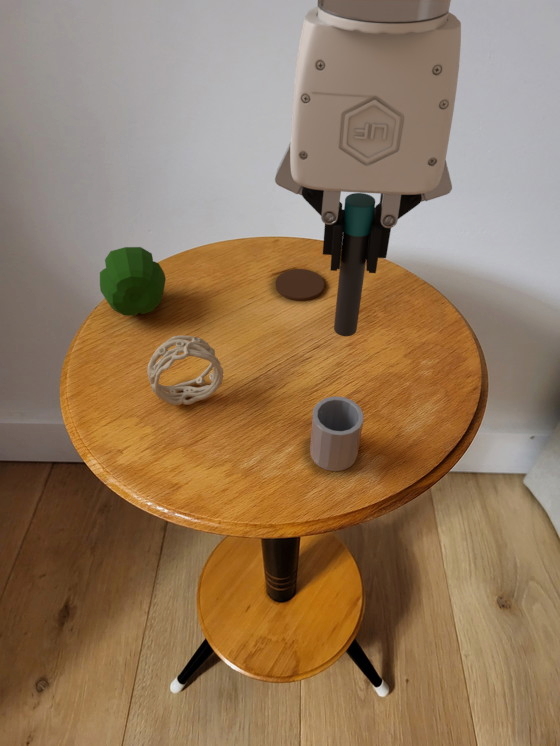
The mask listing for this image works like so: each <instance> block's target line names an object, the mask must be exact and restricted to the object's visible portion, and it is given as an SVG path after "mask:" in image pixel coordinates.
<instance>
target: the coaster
mask: <svg viewBox="0 0 560 746" xmlns="http://www.w3.org/2000/svg"><path fill="white" fill-rule="evenodd" d="M274 285H275V290H276V292H277V293H278V294H279V295H280V296H282V297H284V298H285V299H287V300H291V301H297V302H303V301H304V302H305V301H309V300H313V299H315V298H316V299H317V298H318V297H319V296H320V295H321V294H323V292H324V291H325V279H323V277H322V276H321V275H320V274H319V273H317V272H315V271H313V270H310V269H305V268H293V269H289V270H286V271H283V272H282V273H280V274H279V275H278V276H277V277H276V279H275V283H274Z"/></svg>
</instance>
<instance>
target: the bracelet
mask: <svg viewBox="0 0 560 746" xmlns="http://www.w3.org/2000/svg"><path fill="white" fill-rule="evenodd" d="M174 346H175V347H174ZM172 347H173V348H172ZM180 353H182V354H180ZM189 357H194V358H198V359H201V360H205V361H208V362H210V363H209V365H208V367H207V368H206V369H205V370H204V371H202V373H201V374H199V376H197V377H196V378H193V379H190V380H188V381H184V382H180V383H177V384H175V385H164V384H161V383H160V382H159V381H160V377H161V375H162V373H163V372H164V371H165V370H167V371H168V370H169V369H170V368H171V367H172V365H173V364H174V363H175V362H176V361H181V360H185V359H186V358H189ZM158 359H159V360H158ZM146 369H147V371H146V372H147V377H148V378H147V379H148V382H149V384H150V387H151V391H152V392H153V393H154V395H155V396H156V397H157V398H158V400H161V401H163V402H165V403H167V405H168V404H169V405H172V406H180V405H185V406H187V405H188V406H189V405H192V404H195V403H196V402H199V401H203V400H207V399H209V398H210V397H211V396H213V395H214V393H216V392H217V390H218V389H219V388H220V387H221V386H222V384H223V381H224V369H223V367H222V365H221V361H220V359H219V358H218V357H217V356H216V351H215V348H214V347H212V346H211V345H210V344H209V342H207V341H206V340H204V339H203V338H201V337H198V336H197V337H196V336H191V335H174V336H172V337H170V338H169V339H167V340H165V341H164V342H162V344H161V345H159V346H158V347H157V349H156V350H155V351H154V353H153V354H152V355H151V358H150V360H149V362H148V364H147V368H146ZM212 370H213V371H212ZM211 371H212V372H211ZM209 373H210V374H209ZM207 375H209V376H208V379H209V381H211V382H210V384H209V385H208V384H205V383H206V380H205V377H206V376H207ZM194 384H197V385H199V386H200V387H196V386H192V385H194ZM187 398H190V399H187Z"/></svg>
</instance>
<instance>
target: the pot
mask: <svg viewBox="0 0 560 746" xmlns="http://www.w3.org/2000/svg"><path fill="white" fill-rule="evenodd" d="M311 418H312V419H311V431H310V432H311V433H310V443H309V445H310V446H309V454H310V457H311V460H312V461H313V462H314V464H316V465H317V466H318V467H319V468H321V469H323V470H325V471H330V472H341V471H344V470H347V469H349V468H350V467H352V466H353V465H354V463H355V462H356V460H357V457H358V454H359V449H360V445H361V444H360V443H361V437H362V432H363V426H364V422H365V421H364V412H363V410H362V408H361V406H360V405H359V404H357V403H356V402H355V401H354V400H352V399H350V398H348V397H346V396H345V397H344V396H329V397H325V398H323V399H321V400H319V401H318V402H317V403H316V404H315V406H314V408H313V410H312V417H311Z"/></svg>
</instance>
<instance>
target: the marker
mask: <svg viewBox="0 0 560 746" xmlns="http://www.w3.org/2000/svg"><path fill="white" fill-rule="evenodd" d="M375 207H376V199H375V197H373V196H372V195H370V194H369V193H360V192H353V193H350V194H348V195H346V197H345V198H344V207H343V209H344V217H343V219H344V230H343V240H342V250H341V260H340V269H339V273H338V281H337V282H338V283H337V284H338V285H337V293H336V303H335V313H334V325H333V331H334V332H335V333H336V334H337V335H339V336H342V337H351V336H354V335H355V334H356V332H357V330H358V324H359V323H358V322H359V315H360V307H361V300H362V294H363V287H364V286H363V285H364V279H365V277H364V276H365V272H366V257H367V250H368V242H369V235H370V232H371V227H372V221H373V216H374V208H375Z"/></svg>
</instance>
